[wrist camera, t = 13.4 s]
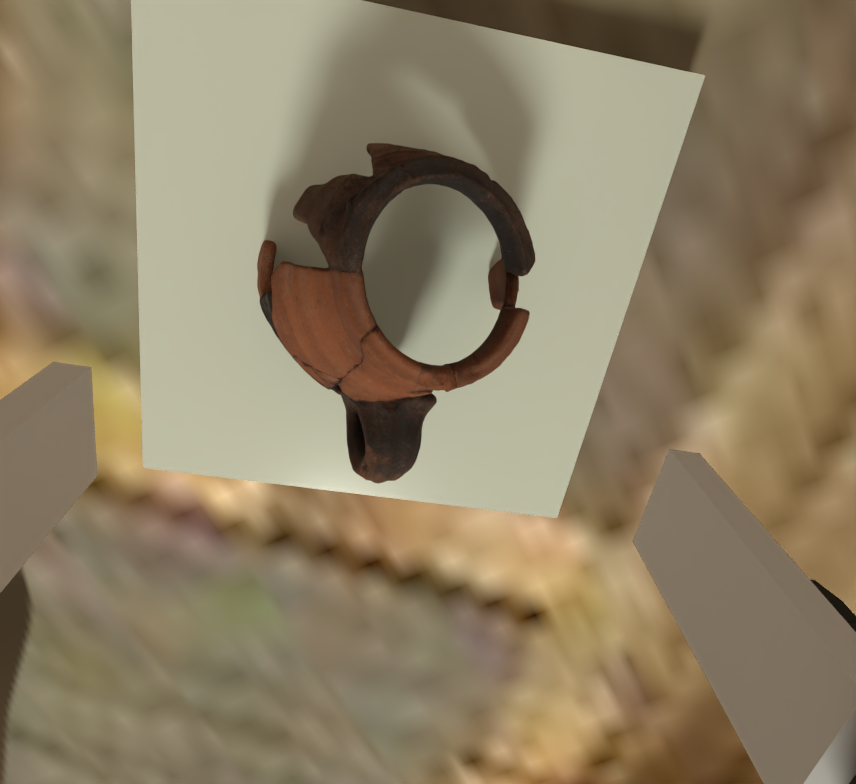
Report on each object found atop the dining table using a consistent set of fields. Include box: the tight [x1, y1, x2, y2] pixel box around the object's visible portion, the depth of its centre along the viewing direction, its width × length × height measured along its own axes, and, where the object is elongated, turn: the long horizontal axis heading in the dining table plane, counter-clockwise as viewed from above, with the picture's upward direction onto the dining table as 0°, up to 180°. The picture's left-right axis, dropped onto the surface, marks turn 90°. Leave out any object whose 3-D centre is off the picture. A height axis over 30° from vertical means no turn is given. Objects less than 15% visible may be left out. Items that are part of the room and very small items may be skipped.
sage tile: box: [131, 0, 705, 518], centre depth 25 cm, size 20×20×2 cm
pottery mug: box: [257, 143, 535, 483], centre depth 23 cm, size 12×10×8 cm
